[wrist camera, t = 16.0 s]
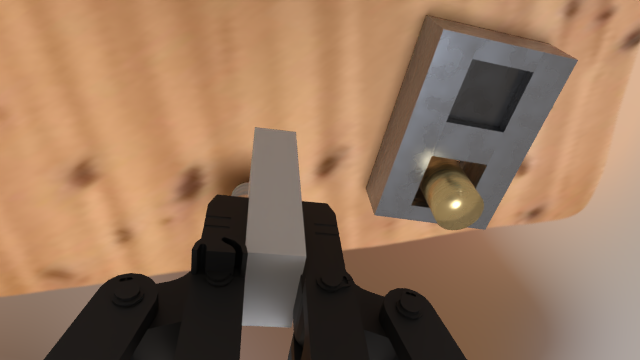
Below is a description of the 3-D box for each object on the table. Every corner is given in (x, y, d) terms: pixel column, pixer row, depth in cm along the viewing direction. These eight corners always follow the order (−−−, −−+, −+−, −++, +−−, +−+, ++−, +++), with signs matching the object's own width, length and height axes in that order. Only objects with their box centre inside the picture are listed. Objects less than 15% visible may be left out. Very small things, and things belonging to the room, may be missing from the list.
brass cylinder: (419, 141, 44) (445, 187, 38) (459, 148, 45) (492, 194, 39) (405, 178, 47) (427, 226, 40) (443, 183, 47) (471, 232, 41)
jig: (426, 14, 38) (443, 29, 34) (549, 43, 40) (578, 60, 36) (366, 188, 47) (374, 215, 43) (468, 203, 49) (485, 229, 46)
